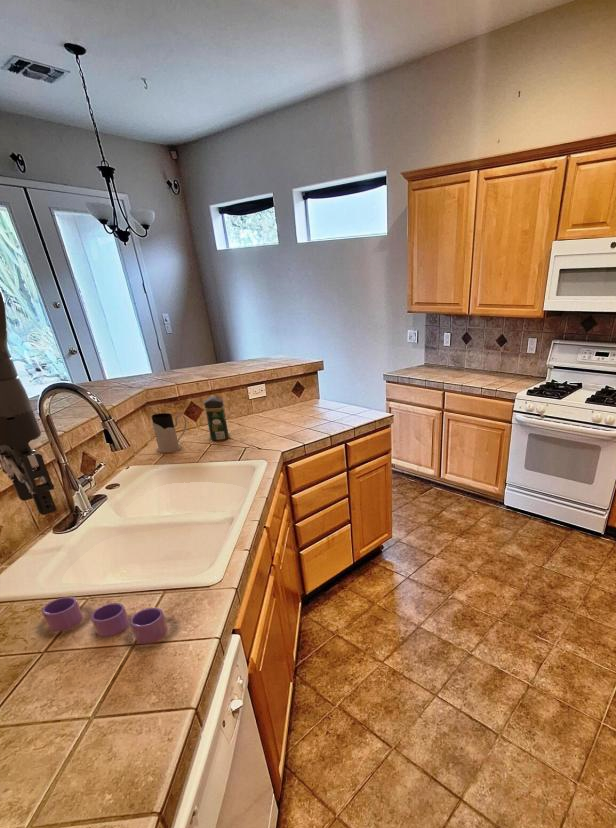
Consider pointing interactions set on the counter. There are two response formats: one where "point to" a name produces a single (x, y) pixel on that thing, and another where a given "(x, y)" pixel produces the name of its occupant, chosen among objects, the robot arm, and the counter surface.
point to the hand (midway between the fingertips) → (38, 505)
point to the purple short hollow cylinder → (62, 614)
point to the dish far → (148, 625)
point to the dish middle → (110, 619)
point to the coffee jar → (216, 418)
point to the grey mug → (166, 432)
